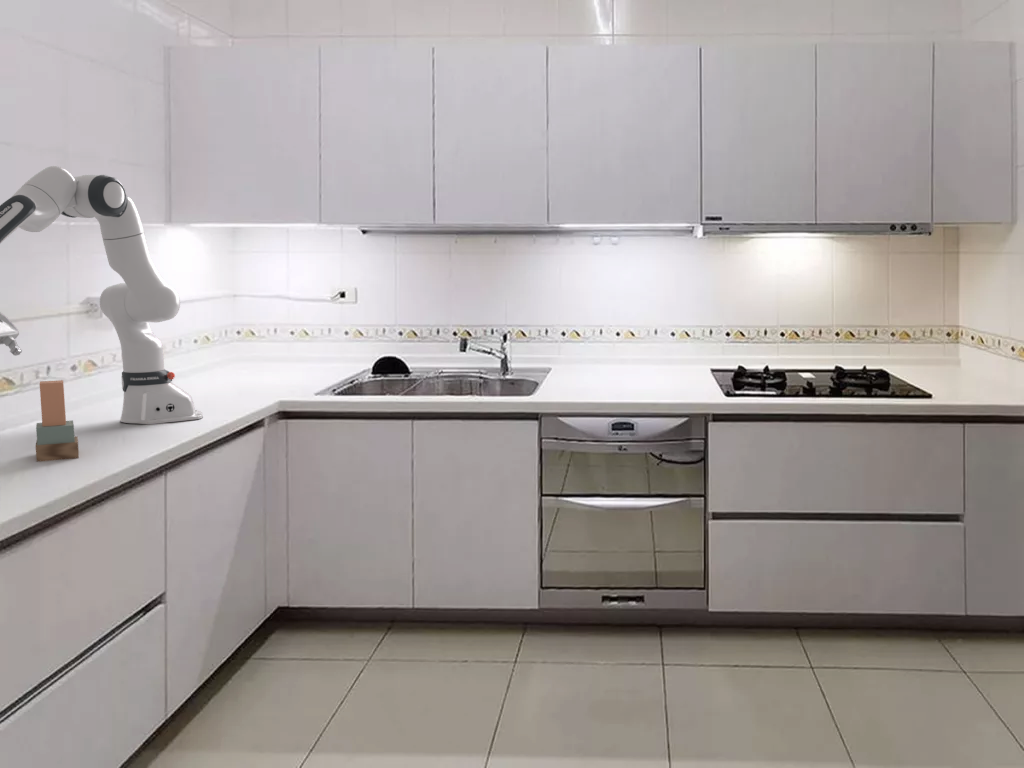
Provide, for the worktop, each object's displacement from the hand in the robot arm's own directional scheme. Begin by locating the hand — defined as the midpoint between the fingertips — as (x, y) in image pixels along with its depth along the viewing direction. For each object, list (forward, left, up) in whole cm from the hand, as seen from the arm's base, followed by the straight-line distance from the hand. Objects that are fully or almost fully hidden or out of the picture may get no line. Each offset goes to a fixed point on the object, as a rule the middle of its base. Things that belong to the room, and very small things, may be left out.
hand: (7, 355), depth 247 cm
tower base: (-9, +6, -24) cm, 27 cm away
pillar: (-9, +6, -16) cm, 19 cm away
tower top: (-9, +6, -20) cm, 23 cm away
